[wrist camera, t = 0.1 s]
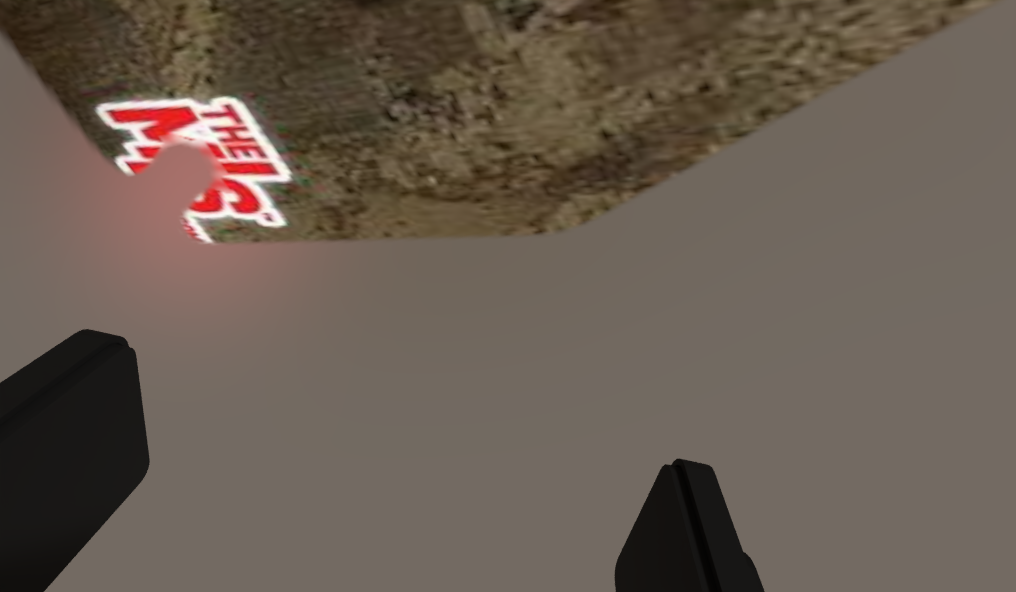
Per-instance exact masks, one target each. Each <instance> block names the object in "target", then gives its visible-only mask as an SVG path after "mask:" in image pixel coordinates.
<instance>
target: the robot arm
mask: <svg viewBox="0 0 1016 592" xmlns="http://www.w3.org/2000/svg"><path fill="white" fill-rule="evenodd" d="M148 467H149V452H148V445H147V436H146V428H145V421H144V413H143V405H142V397H141V390H140V382H139V374H138V366H137V358H136V353H135V351H134V349H133V348H130V347H129V346H128V342H127V341H126V339H125V338H123V337H121V336H116V335H112V334H108V333H103V332H99V331H94V330H89V329H86V330H81V331H79V332H77V333H75V334H73V335H72V336H70V337H69V338H68V339H66V340H64V341H63V342H61V343H60V344H58V345H57V346H55V347H54V348H52V349H51V350H49V351H48V352H46V353H45V354H43V355H42V356H40V357H39V358H37V359H36V360H34V361H33V362H31V363H30V364H28V365H27V366H25V367H23V368H22V369H20V370H19V371H17V372H16V373H14V374H13V375H12V376H10V377H8V378H7V379H5V380H4V381H2V382H1V383H0V592H44V591H45V590H46V589H47V587H48V586H49V585H50V584H51V583H52V582H53V581H54V580H55V578H56V577H57V576H58V575H59V574H60V573H61V572H62V571H63V569H64V568H65V567H66V566H67V565H68V564H69V563H70V562H71V560H72V559H73V558H74V557H75V556H76V555H77V553H78V552H79V551H80V550H81V549H82V548H83V547H84V546H85V545H86V543H87V542H88V541H89V540H90V539H91V538H92V537H93V536H94V534H95V533H96V532H97V531H98V530H99V529H100V528H101V526H102V525H103V524H104V523H105V522H106V521H107V520H108V519H109V517H110V516H111V515H112V514H113V513H114V512H115V510H116V509H117V508H118V507H119V506H120V505H121V504H122V503H123V502H124V501H125V499H126V498H127V497H128V496H129V495H130V494H131V493H132V491H133V490H134V489H135V488H136V487H137V486H138V485H139V484H140V482H141V481H142V480H143V478H144V477H145V475H146V473H147V470H148ZM615 587H616V592H764V589H763V586H762V584H761V581H760V578H759V576H758V573H757V570H756V568H755V566H754V564H753V562H752V560H751V558H750V557H749V556H748V555H747V554H746V553H744V552H743V550H742V547H741V545H740V542H739V539H738V536H737V533H736V531H735V528H734V525H733V522H732V520H731V517H730V514H729V511H728V508H727V506H726V503H725V500H724V497H723V495H722V492H721V489H720V486H719V484H718V481H717V478H716V475H715V473H714V471H713V469H712V467H711V466H709V465H706V464H702V463H697V462H692V461H688V460H683V459H676V460H675V461H674V462H673V463H672V465H666V464H665V465H664V466H663V467H662V468H661V470H660V472H659V474H658V476H657V478H656V480H655V482H654V485H653V487H652V489H651V491H650V493H649V495H648V497H647V499H646V501H645V503H644V505H643V507H642V509H641V511H640V514H639V516H638V518H637V520H636V522H635V524H634V526H633V528H632V530H631V532H630V534H629V537H628V539H627V541H626V543H625V545H624V547H623V549H622V551H621V553H620V555H619V557H618V560H617V563H616V567H615Z"/></svg>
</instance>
